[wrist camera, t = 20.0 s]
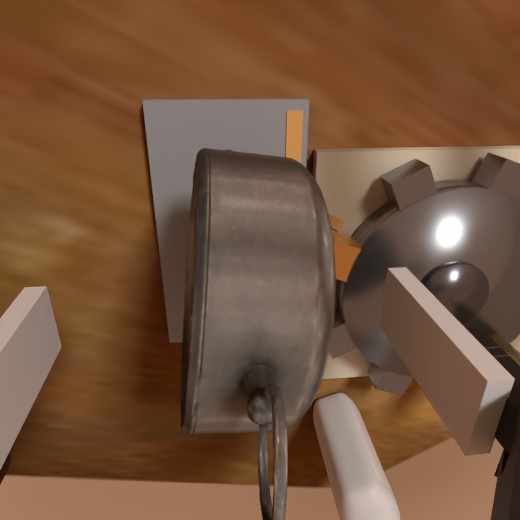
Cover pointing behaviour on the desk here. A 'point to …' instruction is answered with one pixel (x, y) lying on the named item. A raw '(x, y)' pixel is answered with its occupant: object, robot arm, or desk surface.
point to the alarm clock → (256, 303)
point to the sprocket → (433, 260)
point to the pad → (184, 157)
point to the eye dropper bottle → (352, 461)
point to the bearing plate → (383, 199)
